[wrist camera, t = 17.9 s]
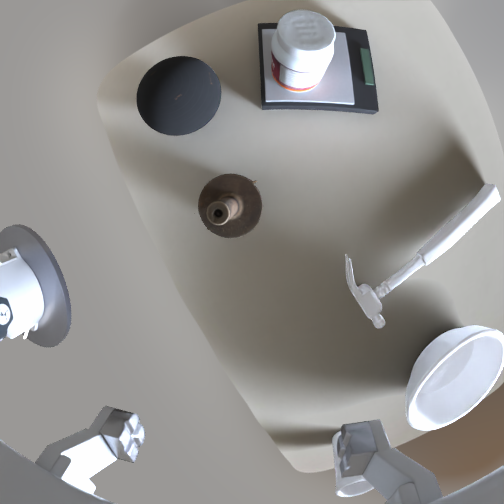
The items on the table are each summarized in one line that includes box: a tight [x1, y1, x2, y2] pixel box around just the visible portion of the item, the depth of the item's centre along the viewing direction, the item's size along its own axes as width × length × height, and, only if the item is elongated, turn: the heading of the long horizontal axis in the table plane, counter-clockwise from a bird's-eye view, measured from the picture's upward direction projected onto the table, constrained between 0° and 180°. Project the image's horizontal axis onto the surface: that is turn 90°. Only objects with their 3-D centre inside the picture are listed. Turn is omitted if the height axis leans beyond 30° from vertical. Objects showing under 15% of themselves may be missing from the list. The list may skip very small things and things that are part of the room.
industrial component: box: [194, 174, 263, 238], centre depth 30 cm, size 9×7×12 cm
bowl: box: [405, 325, 504, 430], centre depth 36 cm, size 22×22×8 cm
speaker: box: [137, 56, 221, 135], centre depth 28 cm, size 10×10×10 cm
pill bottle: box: [271, 10, 335, 92], centre depth 23 cm, size 6×6×11 cm
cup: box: [332, 431, 374, 497], centre depth 39 cm, size 8×8×14 cm
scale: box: [258, 23, 378, 114], centre depth 29 cm, size 15×13×3 cm
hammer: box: [345, 184, 500, 328], centre depth 33 cm, size 12×30×3 cm, turn 128°
